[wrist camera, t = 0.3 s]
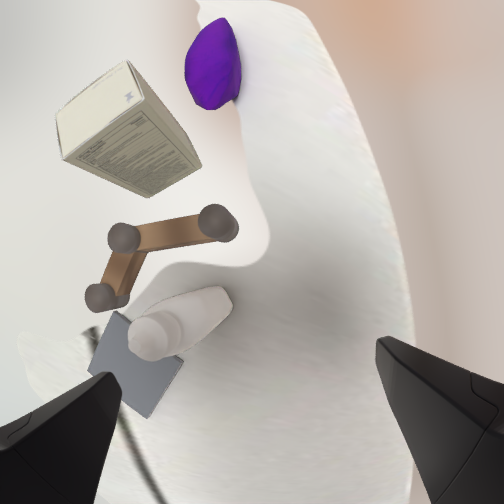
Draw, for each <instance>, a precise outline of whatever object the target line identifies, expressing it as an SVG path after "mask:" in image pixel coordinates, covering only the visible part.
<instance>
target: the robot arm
mask: <svg viewBox="0 0 504 504" xmlns="http://www.w3.org/2000/svg"><path fill="white" fill-rule="evenodd" d="M375 360H376V366H377V369H378V372H379V375H380V378H381V381H382V384H383V387H384V390H385V393H386V396H387V399H388V402H389V405H390V407H391V409H392V411H393V414H394V416H395V418H396V420H397V422H398V425H399V427H400V429H401V431H402V433H403V436H404V438H405V440H406V442H407V445H408V447H409V449H410V452H411V454H412V456H413V459H414V461H415V464H416V466H417V468H418V471H419V473H420V476H421V478H422V481H423V483H424V486H425V488H426V491H427V493H428V496H429V499H430V501H431V504H504V384H502V383H499V382H496V381H493V380H491V379H488V378H486V377H483V376H480V375H478V374H476V373H473V372H471V373H470V371H468V370H466V369H464V368H461V367H459V366H456V365H454V364H452V363H450V362H447V361H445V360H443V359H440V358H438V357H436V356H434V355H431V354H429V353H427V352H424V351H422V350H420V349H418V348H415V347H413V346H411V345H409V344H406V343H404V342H402V341H400V340H398V339H395V338H393V337H391V336H385V337H382V338H378V339H377V341H376V358H375ZM121 398H122V389H121V387H120V385H119V383H118V381H117V379H116V377H115V376H114V374H113V373H112V372H105V371H103V372H100V373H98V374H97V375H95V376H93V377H92V378H90V379H88V380H86V381H85V382H83V383H81V384H80V385H78V386H76V387H74V388H73V389H71V390H69V391H67V392H66V393H64V394H62V395H60V396H59V397H57V398H55V399H53V400H52V401H50V402H48V403H46V404H45V405H43V406H41V407H39V408H38V409H36V410H34V411H33V412H30V413H28V414H27V415H25V416H23V417H21V418H19V419H17V420H15V421H13V422H11V423H9V424H7V425H4V426H2V427H0V504H94V500H95V496H96V492H97V488H98V484H99V481H100V477H101V473H102V470H103V466H104V463H105V459H106V456H107V452H108V449H109V446H110V443H111V439H112V436H113V433H114V430H115V426H116V421H117V417H118V412H119V407H120V403H121Z"/></svg>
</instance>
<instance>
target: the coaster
mask: <svg viewBox="0 0 504 504" xmlns="http://www.w3.org/2000/svg"><path fill="white" fill-rule="evenodd" d="M130 324H131V322H130V321H129V320H128V319H126V318H125V317H124V316H123V315H121V314H120V313H118V311H114V312H113V314H112V316H111V318H110V320H109V322H108V324H107V326H106V328H105V331H104V333H103V335H102V337H101V339H100V342H99V344H98V346H97V348H96V351H95V353H94V355H93V358H92V360H91V363H90V365H89V367H88V370H87V371H88V372H89V373H90V374H91V375H93V376H95V375H97V374H98V373H100V372H103V371H105V372H112V373H113V374H114V376H115V377H116V379H117V381H118V383H119V385H120V387H121V389H122V398H121V400H122V401H123V402H125V403H126V404H127V405H128V406H130V407H131V408H132V409H134V410H135V411H136V412H138V413H139V414H140V415H142V416H143V417H144V418H146V419H148V418H149V416H150V415H151V413H152V412H153V410H154V408H155V407H156V405H157V404H158V402H159V400H160V399H161V397H162V395H163V394H164V392H165V391H166V389H167V387H168V386H169V384H170V383H171V381H172V379H173V378H174V376H175V375H176V373H177V371H178V370H179V368H180V367H181V365H182V363H183V362H184V361H182V360H181V359H179V358H178V357H176V356H175V355H173V356H169V357H163V358H162V359H160V360H158V361H154V362H153V361H152V362H151V361H146V360H144V359H142V358H140V357H138V356H137V355H136V354H135V353H133V352H131V351H130V349H129V347H128V343H129V342H128V330H129V326H130Z"/></svg>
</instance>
